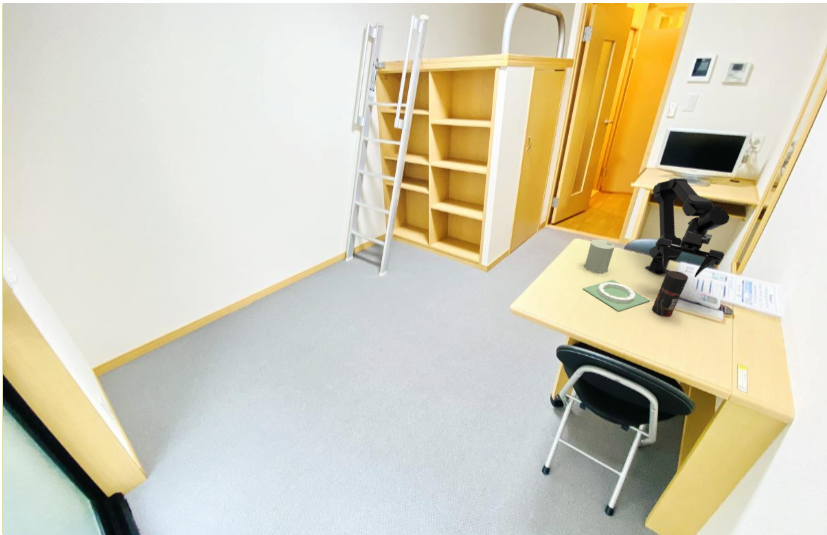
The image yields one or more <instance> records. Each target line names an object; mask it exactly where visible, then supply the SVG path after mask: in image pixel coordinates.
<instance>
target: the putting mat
mask: <svg viewBox="0 0 827 535" xmlns="http://www.w3.org/2000/svg"><path fill="white" fill-rule="evenodd" d="M582 290H583V291H585V292H587V293H588V294H589V295H591V296H593V297H594V298H596V299H597V300H599V301H600V302H602V303H603V304H606V305H607V306H608V307H609V308H612V309H613V310H614V311H616V312H617V313H618V312H623V311H624V310H628V309H631V308H635V307H637V306H640V305H644V304H646V303H650V301H651V300H650V299H649V298H646V297H645V296H643V295H642V294H639V293H638V292H636V291H635V290H633V289H632V288H630V287H629V286H627V285H625V284H622V283H620V282H618V281H616V280H614V279H610V280H606V281H604V282H600V283H596V284H593V285H590V286H586V287H583V288H582Z"/></svg>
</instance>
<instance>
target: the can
mask: <svg viewBox="0 0 827 535" xmlns="http://www.w3.org/2000/svg"><path fill="white" fill-rule="evenodd" d="M615 248H616V246H615V244H614V243H613V242H611V241H609V240H606V239H598V238H597V239H592V240H591V241H590V246H589V249H588V253H587V255H586V260H585V263H584V266H583V267H584V268H585V270H587V271H588V272H589V271H590V272H592V273H597V274H605V273H607V272H608V271H609V270H608V269H609V265H610V263H611V259H612V256H613V252H614V249H615Z"/></svg>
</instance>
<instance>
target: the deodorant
mask: <svg viewBox="0 0 827 535" xmlns="http://www.w3.org/2000/svg"><path fill="white" fill-rule="evenodd" d="M688 280H689V276H688V275H687V274H685V273H683V272H681V271H676V270H669V271H668V272H667V273H665V276H664V278H663V281H662V283H661V286H660V287H659V290H658V293H657V295H656V298H655V300H654V303H653V305H652V308H651V311H652V312H653V313H654V314H656V315H658V316H660V317H663V318H664V317H665V318H669V317H671V316H672V315H673V313H674V311H675V309H676V306H677V303H678V301H679V300H680V297H681V295H682V292H683V290H684V289H685V286H686V284H687V281H688Z"/></svg>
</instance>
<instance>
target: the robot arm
mask: <svg viewBox="0 0 827 535" xmlns="http://www.w3.org/2000/svg"><path fill="white" fill-rule="evenodd" d="M652 193H653V198H654V200H655V201H656V203H657V204H658V206H659V208H658V210H659V211H658V212H659V237H658V239H657V240H656V242H655V246H653V247H651V248H649V255H650V257H651V258H652V259H651V262H650V265H648V266H645V268H644V269H646V270H648V271H650V272H652V273H654V274H656V275H663V274H666V273H667V272H668V271H670V269H667V268H668V265H669V263H670V261H677V259H678V258H680V255H681V254H682V253H684V254H688V255H693V256H696V257H701V258H704V260H703V261H702V263H700V265H699V268H698V269H697V270H696V271H695V275H694V278H697V277H698V276H699V275H700V273H702V272H703V271H704V270H705V269H706V268H708V267H709V266H711V267H714V265H716V266H720V264H721V263H722V261H723V259H724V256H725V253H724V251H720V250H716V249H712V248H711V249H710V248H709V249H710V250H709V251H704V250H701V248H702V246H703V244H704V245H709V244H710V241H711V240H712V236H713V235H712V234H708V231H712V230H715V229H717V228H720V227H721V226H724V225H726V224H727V223H728V222H729V220H730V215H729V213H728V212H727V211H726V210H724V209H723V208H722V206H721V205H713V202H712V201H711V200H710V199H708V198H706V197H703V196H700V195H699V194H698V193H697V192H696V191H695V189H693V187H692V186H691V185H690V184H689V183H688V180H687V179H686V178H677V177H676V178H675V177H674V178H671V179H669V180H664V181H661V182H657V184H655V185H654V186H653V188H652ZM677 198H679V199H680V201H681V202H682V204H683V205H682V207H681V209H682V211H683V213H684V215H685V216H687V217H693V218H691V219H690V221H688V223H687V225H688V226H687V229H686V231H685V232H684V235H683V236H682V238H681V237H677V236H676V232H675V230H676V229H675V206H674V205H675V201H676V200H677Z"/></svg>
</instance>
